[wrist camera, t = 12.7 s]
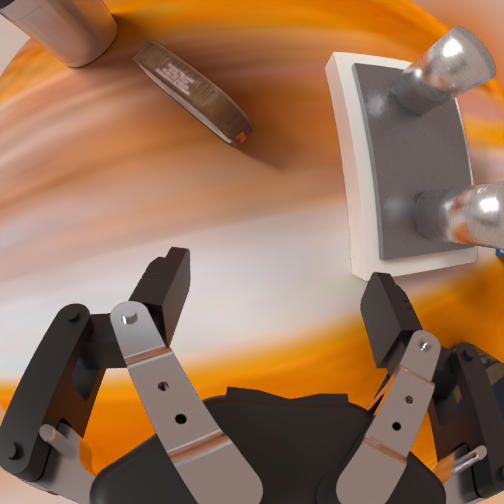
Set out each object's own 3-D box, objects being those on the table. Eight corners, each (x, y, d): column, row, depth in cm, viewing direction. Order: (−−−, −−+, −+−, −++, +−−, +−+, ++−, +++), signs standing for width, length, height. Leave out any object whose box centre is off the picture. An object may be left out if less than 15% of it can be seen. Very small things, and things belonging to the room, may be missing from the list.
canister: (480, 341, 32) (557, 388, 14) (456, 394, 33) (519, 452, 15) (442, 337, 32) (529, 396, 14) (416, 395, 33) (482, 469, 15)
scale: (324, 68, 28) (333, 51, 24) (435, 82, 28) (450, 72, 24) (351, 273, 31) (365, 280, 27) (460, 256, 31) (479, 260, 27)
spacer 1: (388, 70, 23) (442, 19, 12) (425, 77, 23) (482, 36, 12) (400, 112, 24) (465, 71, 13) (436, 116, 24) (502, 85, 13)
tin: (256, 139, 29) (259, 111, 20) (235, 160, 29) (230, 138, 21) (164, 64, 28) (143, 25, 19) (144, 81, 28) (118, 47, 19)
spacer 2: (412, 190, 24) (491, 179, 14) (447, 190, 25) (524, 182, 14) (416, 241, 25) (495, 254, 14) (451, 237, 25) (528, 247, 14)
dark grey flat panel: (351, 67, 24) (354, 62, 23) (444, 82, 24) (448, 79, 23) (379, 259, 26) (383, 260, 25) (470, 246, 26) (475, 246, 25)
